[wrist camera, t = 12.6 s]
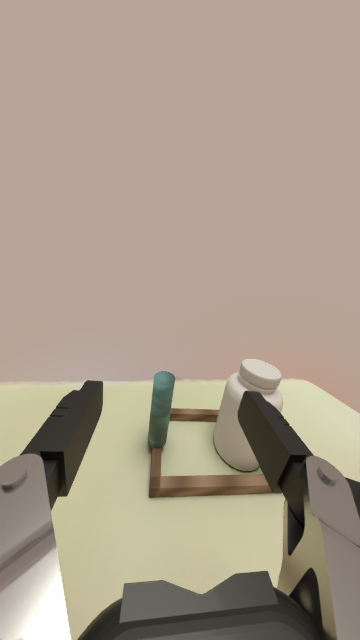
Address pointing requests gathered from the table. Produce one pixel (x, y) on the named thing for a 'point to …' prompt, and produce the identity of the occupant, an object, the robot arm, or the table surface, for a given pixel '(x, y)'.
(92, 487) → the table surface
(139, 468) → the table surface
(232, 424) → the pill bottle
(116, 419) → the table surface
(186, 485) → the brown wooden frame
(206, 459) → the table surface
